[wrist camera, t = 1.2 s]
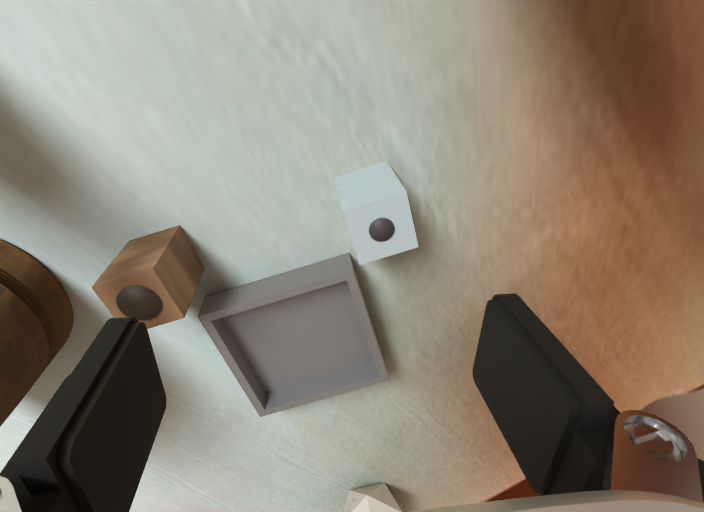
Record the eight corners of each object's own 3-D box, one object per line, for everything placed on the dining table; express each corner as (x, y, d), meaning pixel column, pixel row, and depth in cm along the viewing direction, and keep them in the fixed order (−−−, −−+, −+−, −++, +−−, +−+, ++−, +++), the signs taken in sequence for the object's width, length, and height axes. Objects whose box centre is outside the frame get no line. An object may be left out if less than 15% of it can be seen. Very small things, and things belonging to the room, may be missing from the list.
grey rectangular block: (386, 160, 32) (406, 191, 26) (397, 209, 35) (419, 247, 29) (333, 177, 33) (341, 211, 26) (348, 224, 35) (359, 265, 29)
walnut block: (179, 225, 33) (152, 269, 27) (204, 268, 35) (184, 318, 29) (129, 240, 33) (90, 288, 27) (156, 282, 36) (127, 335, 29)
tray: (349, 253, 36) (353, 270, 34) (383, 358, 43) (389, 379, 41) (204, 296, 37) (197, 316, 34) (262, 394, 44) (260, 416, 41)
